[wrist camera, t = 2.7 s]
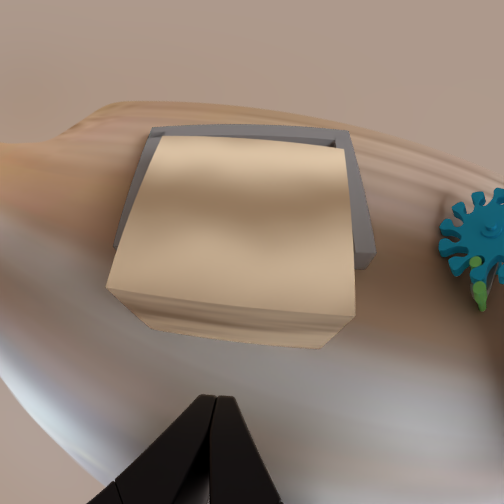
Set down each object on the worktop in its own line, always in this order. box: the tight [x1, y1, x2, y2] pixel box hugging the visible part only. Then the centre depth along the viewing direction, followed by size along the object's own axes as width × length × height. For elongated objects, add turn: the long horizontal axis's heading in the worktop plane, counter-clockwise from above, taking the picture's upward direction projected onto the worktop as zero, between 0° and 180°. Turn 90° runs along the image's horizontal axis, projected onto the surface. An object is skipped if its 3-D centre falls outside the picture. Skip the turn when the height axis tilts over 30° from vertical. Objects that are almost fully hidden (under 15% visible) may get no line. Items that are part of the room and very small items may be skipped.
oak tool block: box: [106, 136, 355, 349], centre depth 18 cm, size 10×11×8 cm
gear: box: [439, 188, 504, 312], centre depth 19 cm, size 11×6×10 cm
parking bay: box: [113, 124, 377, 269], centre depth 23 cm, size 12×18×2 cm
